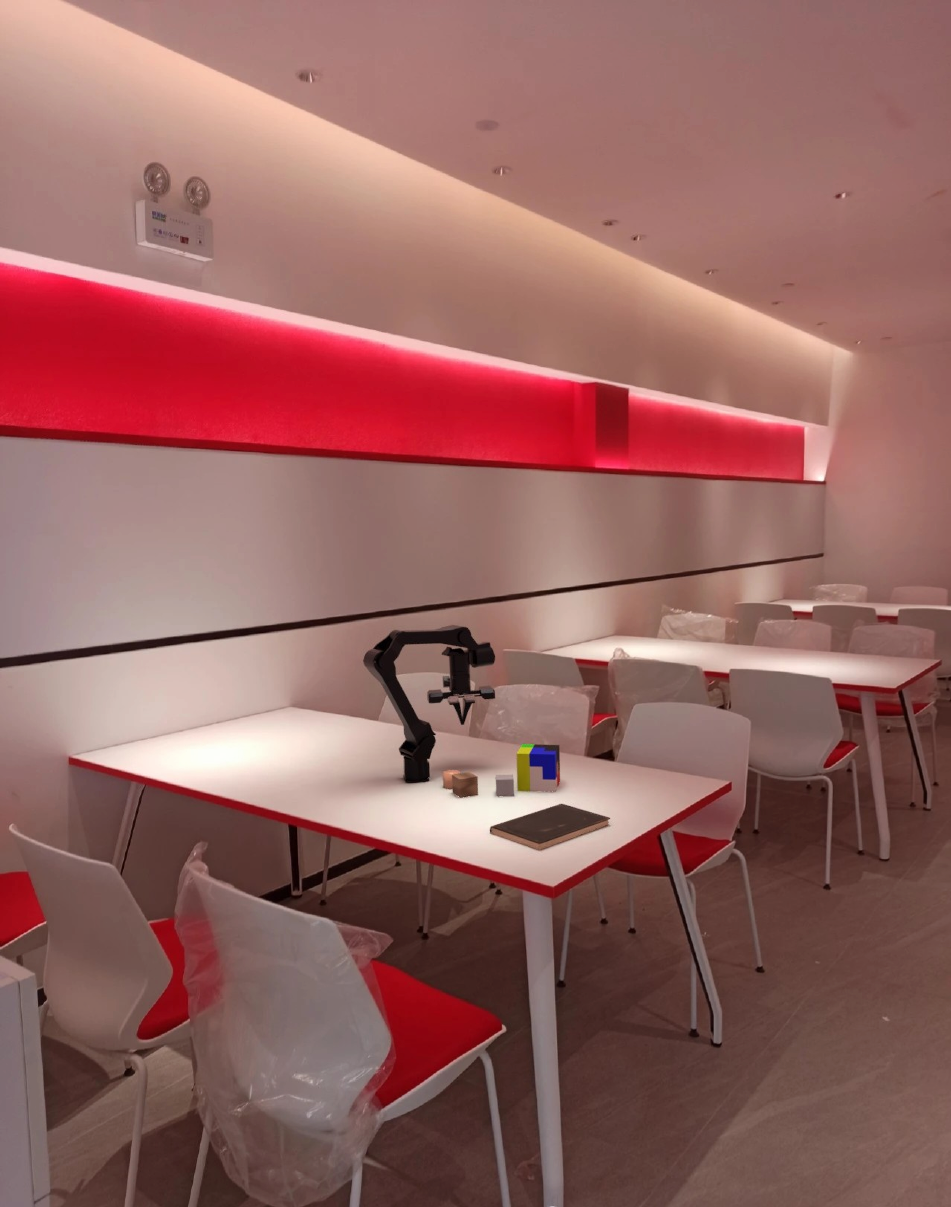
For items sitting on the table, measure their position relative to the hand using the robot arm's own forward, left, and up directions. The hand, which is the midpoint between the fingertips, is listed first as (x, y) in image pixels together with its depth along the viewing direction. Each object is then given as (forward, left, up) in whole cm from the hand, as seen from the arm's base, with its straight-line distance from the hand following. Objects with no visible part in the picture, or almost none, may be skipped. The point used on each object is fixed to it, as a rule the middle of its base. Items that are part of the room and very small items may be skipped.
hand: (462, 724), depth 266 cm
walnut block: (-3, -23, -13) cm, 26 cm away
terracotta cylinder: (-6, -15, -13) cm, 21 cm away
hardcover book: (+11, -54, -14) cm, 57 cm away
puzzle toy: (+17, -21, -13) cm, 30 cm away
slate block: (+7, -25, -13) cm, 29 cm away
